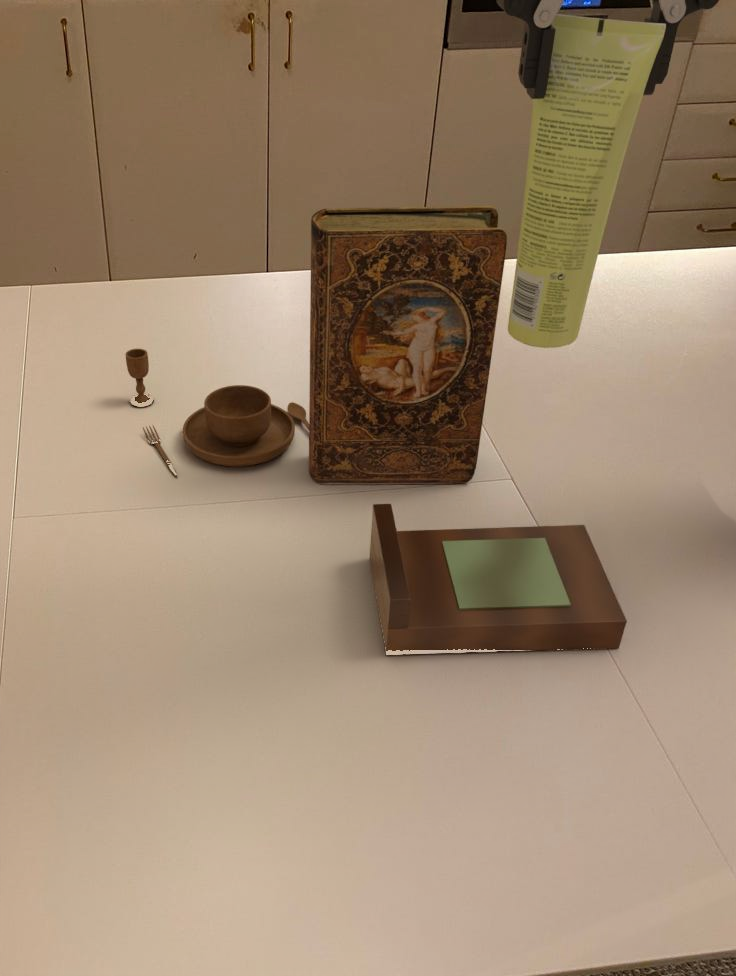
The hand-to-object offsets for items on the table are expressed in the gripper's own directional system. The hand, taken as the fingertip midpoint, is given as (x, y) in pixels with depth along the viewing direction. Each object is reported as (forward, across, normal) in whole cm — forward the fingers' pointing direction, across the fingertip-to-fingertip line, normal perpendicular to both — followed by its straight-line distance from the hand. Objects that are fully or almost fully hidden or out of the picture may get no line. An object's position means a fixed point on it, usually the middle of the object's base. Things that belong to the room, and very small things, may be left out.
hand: (589, 92), depth 60 cm
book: (+39, -8, +20) cm, 44 cm away
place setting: (+39, -24, +30) cm, 55 cm away
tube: (+16, 0, 0) cm, 16 cm away
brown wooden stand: (+39, -1, -2) cm, 39 cm away
